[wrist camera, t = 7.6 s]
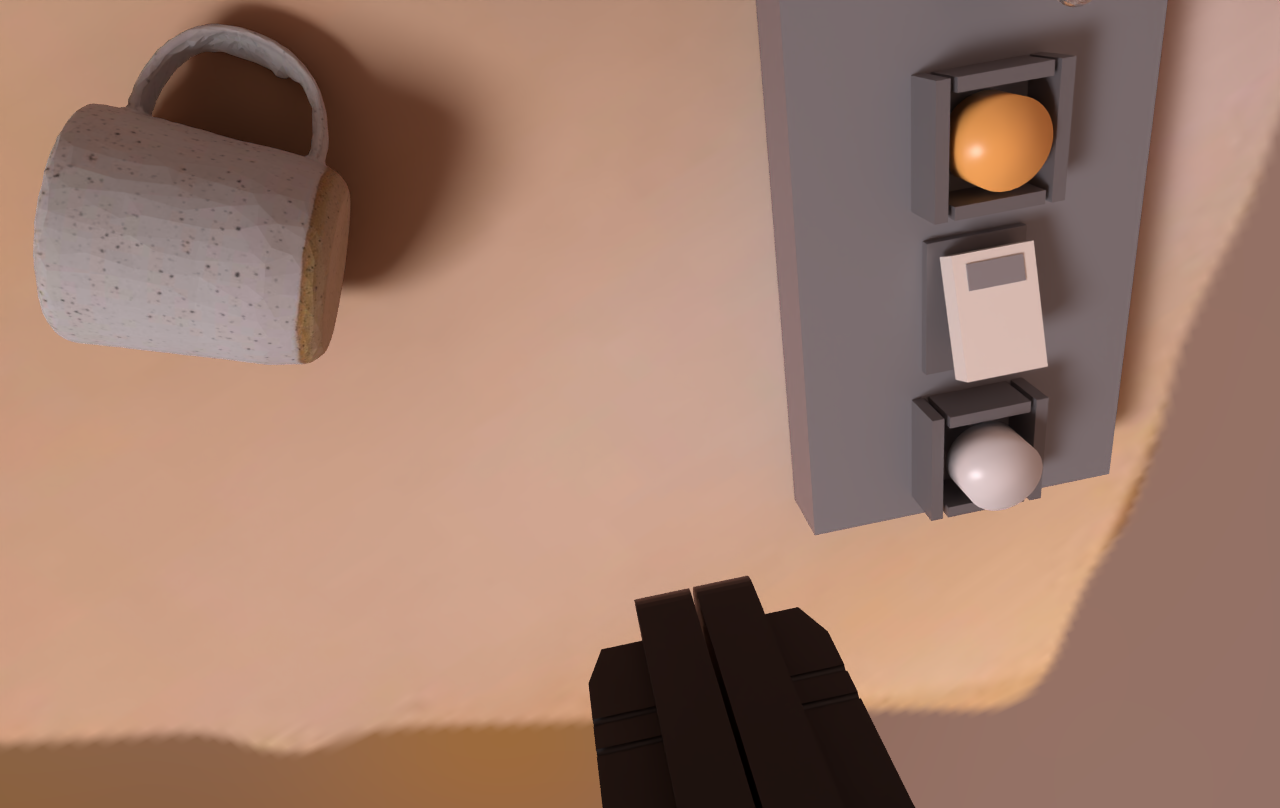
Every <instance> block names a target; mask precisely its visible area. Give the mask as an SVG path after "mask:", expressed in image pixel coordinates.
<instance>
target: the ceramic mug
mask: <svg viewBox="0 0 1280 808" xmlns="http://www.w3.org/2000/svg"><path fill="white" fill-rule="evenodd" d="M219 51H221V52H226V53H228V54H230V55H233V56H236V57H239V58H242V59H245V60H249V61H252V62H255V63H257V64H259V65H262V66H264V67H266V68H268V69H270V70H272V71H273V73H274V74H275V75H276V76H277V77H279V78H284V79H286V78H289V77H290V78H291V79H292V80H294V81H295V82H298V83H300V84H301V86H302V87H303V89H304V91H305V93H306V95H307V98H308V101H309V103H310V105H311V107H312V127H313V137H312V140H311V150H310V152H309V154H308V155H306V156H302V155H298V154H294V153H291V152H287V151H284V150H280V149H276V148H272V147H267V146H263V145H258V144H253V143H250V142H244V141H240V140H236V139H233V138H229V137H225V136H222V135H218V134H215V133H212V132H209V131H205V130H201V129H197V128H193V127H190V126H186V125H183V124H180V123H175V122H171V121H168V120H165V119H162V118H156V117H152V111H153V110H154V107H155V104H156V101H157V99H158V96H159V95H160V93H161V91H162V88H163V87H164V85H165V84H166V83H167V81H168V80H169V79H170V77H171V76H172V75H173V73H174V72H175V71H176V69H177V68H178V67H180V66H181V65H182V64H183V63H184V62H186V61H187V60H189V58H191V57H193V56H195V55H197V54H199V53H202V52H219ZM328 145H329V137H328V125H327V113H326V109H325V105H324V102H323V98H322V95H321V92H320V90H319V88H318V85H317V83H316V81H315V79H314V78H313V76H312V75H311V73H310V72H309V70H308V69H307V68H306V66H305V65H304V64H303V63H302V62H301V61H300V60H299V59H298V58H297V57H296V56H295V55H294V54H293V53H292V52H291V51H290V50H289V49H288V48H286V47H284V46H282V45H280V44H279V43H278V42H277V41H275V40H273V39H271V38H268V37H266V36H264V35H262V34H260V33H257V32H254V31H251V30H248V29H245V28H242V27H239V26H230V25H222V24H207V25H201V26H197V27H194V28H191V29H189V30H186V31H184V32H182V33H180V34H179V35H177V36H176V37H174V38H172V39H170V40H169V41H167V42H166V43H165V44H164V45H163V46H162V47H160V48H159V49H158V50H157V51H156V52H155V54H154V55H153V56H152V58H151V59H150V60H149V62H148V63H147V64H146V66H145V67H144V68H143V70H142V72H141V74H140V75H139V77H138V79H137V81H136V83H135V85H134V88H133V91H132V93H131V95H130V97H129V100H128V105H127V106H126V107H121V108H117V107H113V106H108V105H102V104H89V105H86V106H84V107H82V108H81V109H79V110H78V111H76V112H75V113H74V114H73V115H72V116H71V118H70V119H69V120H68V121H67V123H66V124H65V126H64V127H63V129H62V131H61V132H60V134H59V135H58V137H57V140H56V142H55V144H54V146H53V148H52V150H51V153H50V156H49V158H48V161H47V164H46V168H45V170H44V176H43V183H42V186H41V190H40V193H39V196H38V202H37V209H36V216H35V222H34V227H35V233H34V250H33V257H34V269H35V275H36V282H37V290H38V297H39V301H40V305H41V308H42V312H43V314H44V316H45V318H46V320H47V322H48V324H49V325H50V326H51V327H52V328H53V330H54V331H55V332H56V333H57V334H58V335H60V336H61V337H63V338H64V339H67V340H69V341H72V342H76V343H84V344H94V345H103V346H112V347H124V348H129V349H138V350H147V351H155V352H165V353H174V354H182V355H191V356H200V357H209V358H218V359H227V360H234V361H242V362H249V363H257V364H267V365H285V364H306V363H310V362H313V361H314V360H316V359H317V358H319V357H320V356H321V355H323V354H324V353H325V351H326V350H327V348H328V346H329V343H330V341H331V338H332V334H333V330H334V326H335V322H336V317H337V312H338V307H339V301H340V295H341V290H342V284H343V277H344V271H345V264H346V256H347V247H348V236H349V225H350V192H349V189H348V187H347V184H346V182H345V181H344V179H343V178H342V177H341V176H340V174H339V173H338V172H336V171H335V170H333V169H331V168H330V167H328V166H326V164H325V160H326V155H327V151H328Z"/></svg>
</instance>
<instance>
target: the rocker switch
mask: <svg viewBox="0 0 1280 808" xmlns="http://www.w3.org/2000/svg"><path fill="white" fill-rule="evenodd" d="M940 263H941V271H942V279H943V286H944V294H945V302H946V310H947V317H948V325H949V333H950V340H951V348H952V356H953V363H954V371H955V379H956V380H959V381H963V382H972V381H977V380H982V379H987V378H992V377H997V376H1002V375H1007V374H1012V373H1017V372H1022V371H1027V370H1032V369H1037V368H1042V367H1047V366H1048V363H1047V354H1046V345H1045V337H1044V328H1043V319H1042V310H1041V301H1040V292H1039V283H1038V275H1037V266H1036V257H1035V248H1034V240H1033V241H1023V242H1016V243H1011V244H1005V245H1000V246H995V247H990V248H985V249H979V250H974V251H969V252H964V253H959V254H953V255H948V256H943V257H940Z"/></svg>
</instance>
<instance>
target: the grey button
mask: <svg viewBox="0 0 1280 808" xmlns="http://www.w3.org/2000/svg"><path fill="white" fill-rule="evenodd" d="M946 467H947V471H948V474H949V476H950V477H951V479H952V480H953V481H954V482H955V483H956V484H957V485H958V486H959V487H960V489H961V490H962V491H963V492H964V493H965V494H966V495H967V496H968V497H969V499H970V500H971V501H972V502H973V503H974V504H975V505H976V506H978V507H980V508H982V509H985V510H992V511H997V510H1004V509H1007V508H1010V507H1013V506H1015V505H1017V504H1018V503H1020V502H1022V501H1023V500H1024V499H1026V498H1027V497H1028V496H1029V495H1030V494H1031V493H1032V492H1033V490H1034V489H1035V488H1036V486H1037V485H1038V483H1039V481H1040V478H1041V475H1042V470H1043V464H1042V459H1041V457H1040V455H1039V453H1038V452H1037V450H1035V449H1034V448H1033V447H1032V446H1031V445H1030V444H1029V443H1028V442H1026V441H1025V440H1024V439H1023V438H1022V437H1021V436H1020V435H1018V434H1017V433H1016V432H1015V431H1014V430H1013V429H1012V428H1010V427H1009V426H1008V425H1006V424H1004V423H1001V422H995V421H988V422H983V423H979V424H976V425H974V426H972V427H970V428H968V429H967V430H965V431H964V432H963V433H961V434H960V435H959V436H958V437H957V438H956V440H955V441H954V442H953V444H952V445H951V447H950V449H949V451H948V454H947V458H946Z"/></svg>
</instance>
